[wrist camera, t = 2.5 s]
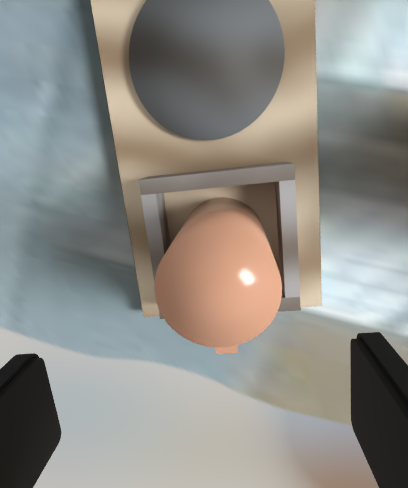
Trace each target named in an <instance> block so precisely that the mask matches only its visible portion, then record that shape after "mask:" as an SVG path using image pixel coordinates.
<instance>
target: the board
mask: <svg viewBox="0 0 408 488" xmlns="http://www.w3.org/2000/svg"><path fill="white" fill-rule="evenodd" d="M91 6H92V12H93V18H94V24H95V30H96V36H97V42H98V48H99V54H100V60H101V66H102V72H103V78H104V83H105V89H106V95H107V101H108V107H109V113H110V119H111V125H112V131H113V137H114V143H115V149H116V155H117V161H118V167H119V173H120V179H121V185H122V191H123V197H124V203H125V209H126V215H127V221H128V227H129V233H130V238H131V244H132V250H133V256H134V262H135V268H136V274H137V280H138V286H139V292H140V298H141V304H142V310H143V316H144V317H151V316H160V319H164V318H163V316H162V314H161V312H160V310H159V308H158V305H157V302H156V298H155V290H154V283H155V276H156V271H157V269H158V266H159V264H160V262H161V260H162V258H163V256H164V255H165V253H166V251H167V250H168V248H169V247H170V245H171V244H172V242H173V240H174V239H175V237H176V236H177V234H178V233H179V231H180V229H181V228H182V226H183V225H184V223H185V221H186V220H187V218H188V217H189V215H190V214H191V212H192V211H193V210H194V209H195V208H196V207H198V206H199V205H200V204H202V203H203V202H206V201H208V200H211V199H214V198H223V197H225V198H232V199H236V200H239V201H241V202H243V203H245V204H246V205H248V206H249V207H250V208H252V209H253V210H254V212H255V213H256V214H257V215H258V217H259V219H260V221H261V223H262V226H263V228H264V231H265V234H266V237H267V239H268V242H269V245H270V248H271V250H272V253H273V256H274V259H275V261H276V264H277V267H278V270H279V273H280V276H281V282H282V297H281V303H280V306H279V309H278V311H295V310H301V307H310V306H322V291H321V249H320V207H319V165H318V124H317V82H316V40H315V0H91ZM278 311H277V312H278Z"/></svg>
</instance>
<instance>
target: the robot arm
mask: <svg viewBox="0 0 408 488" xmlns="http://www.w3.org/2000/svg"><path fill="white" fill-rule="evenodd" d="M351 421H352V426H353V430H354V433H355V435H356V437H357V439H358V441H359V444H360V446H361V448H362V450H363V452H364V455H365V457H366V459H367V462H368V464H369V466H370V468H371V470H372V473H373V475H374V477H375V479H376V482H377V484H378V486H379V488H408V365H407V364H406V363H405V362H404V361H403V359H402V358H401V357H400V356H399V355H398V353H397V352H396V351H395V350H394V349H393V347H392V346H391V345H390V344H389V343H388V341H387V340H386V339H385V338H384V337H383V335H382V334H381V333H379V332H374V333H359V334H358V335H357V339H352V340H351ZM60 438H61V428H60V424H59V420H58V415H57V411H56V407H55V403H54V399H53V395H52V391H51V387H50V383H49V379H48V375H47V371H46V367H45V363H44V360H43V359H42V358H39V356H38V355H37V354H22V355H21V354H19V355H15V356H14V357H13V358H12V359H11V360H10V361H9V362H8V363H6V364H5V366H3V367H2V368H1V369H0V488H33V486H34V485H35V483H36V481H37V479H38V478H39V476H40V474H41V472H42V471H43V469H44V467H45V466H46V464H47V462H48V461H49V459H50V457H51V455H52V454H53V452H54V450H55V449H56V447H57V445H58V443H59V441H60Z"/></svg>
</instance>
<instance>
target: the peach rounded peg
mask: <svg viewBox="0 0 408 488" xmlns="http://www.w3.org/2000/svg"><path fill="white" fill-rule="evenodd" d="M154 290H155V298H156V302H157V305H158V308H159V310H160V312H161V314H162V316H163V318H164V319H165V320H166V322H167V323H168V324H169V325H170V326H171V328H172V329H173V330H175V331H176V332H177V333H178V334H179V335H181V336H182V337H184V338H186V339H188V340H190V341H191V342H194V343H197V344H199V345H203V346H208V347H216V354H222V353H238V345H240V344H243V343H245V342H248V341H250V340H251V339H253V338H255V337H256V336H258V335H259V334H261V333H262V332H263V331H264V330H265V329H266V328H267V327H268V326H269V325H270V323H271V322H272V320H273V319H274V317H275V316H276V314H277V311H278V309H279V306H280V303H281V297H282V282H281V276H280V273H279V270H278V267H277V264H276V261H275V259H274V256H273V253H272V250H271V248H270V245H269V242H268V239H267V237H266V234H265V231H264V228H263V226H262V223H261V221H260V219H259V217H258V215H257V214H256V213H255V212H254V210H253V209H252V208H250V207H249V206H248V205H246V204H245V203H243V202H241V201H239V200H236V199H232V198H225V197H223V198H214V199H211V200H208V201H206V202H203V203H202V204H200V205H199V206H198V207H196V208H195V209H194V210H193V211H192V212H191V214H190V215H189V217H188V218H187V220H186V221H185V223H184V225H183V226H182V228H181V229H180V231H179V233H178V234H177V236H176V237H175V239H174V240H173V242H172V244H171V245H170V247H169V248H168V250H167V251H166V253H165V255H164V256H163V258H162V260H161V262H160V264H159V266H158V269H157V271H156V276H155V283H154Z"/></svg>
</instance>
